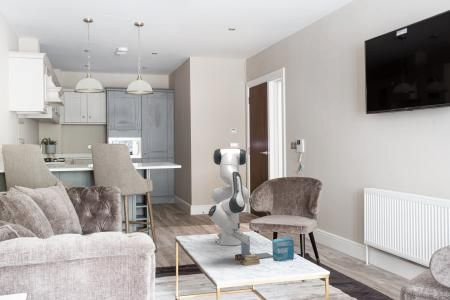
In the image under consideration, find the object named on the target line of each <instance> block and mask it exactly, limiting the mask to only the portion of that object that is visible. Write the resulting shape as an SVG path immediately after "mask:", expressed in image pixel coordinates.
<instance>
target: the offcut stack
mask: <svg viewBox="0 0 450 300" xmlns="http://www.w3.org/2000/svg"><path fill="white" fill-rule="evenodd" d="M260 262H261V261H260V259H259V258H258V257H256V256H255V255H244V261H242V263H241V264H242V265H244V266H252V265H260Z"/></svg>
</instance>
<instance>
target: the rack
mask: <svg viewBox="0 0 450 300" xmlns="http://www.w3.org/2000/svg"><path fill="white" fill-rule="evenodd" d="M251 254H252V253H251V252H250V255H251ZM256 257H257V256H256ZM234 260H235V261H240V264H242V261H244V257H242V253H237V254H236V253H235V254H234Z"/></svg>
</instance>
